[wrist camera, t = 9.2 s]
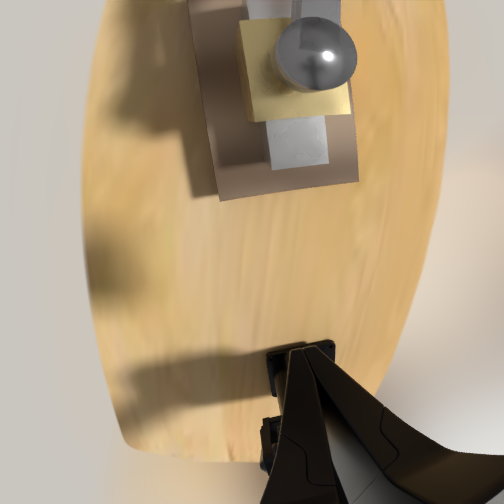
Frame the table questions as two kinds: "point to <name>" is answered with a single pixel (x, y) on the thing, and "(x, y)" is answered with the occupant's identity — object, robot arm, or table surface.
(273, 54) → the lever
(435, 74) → the table surface
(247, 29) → the valve
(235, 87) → the mounting board
